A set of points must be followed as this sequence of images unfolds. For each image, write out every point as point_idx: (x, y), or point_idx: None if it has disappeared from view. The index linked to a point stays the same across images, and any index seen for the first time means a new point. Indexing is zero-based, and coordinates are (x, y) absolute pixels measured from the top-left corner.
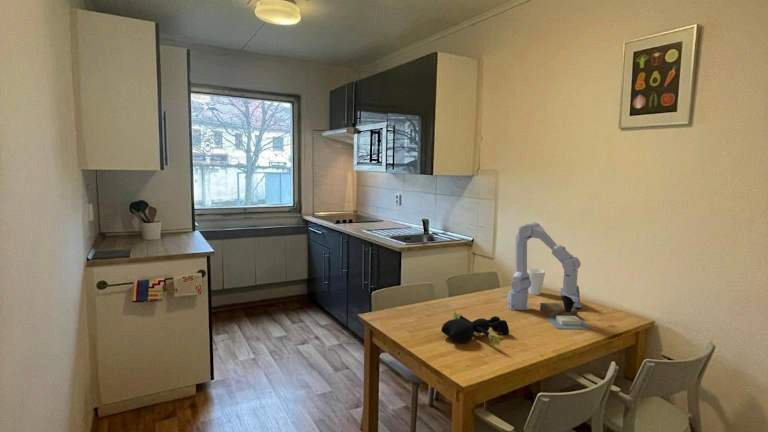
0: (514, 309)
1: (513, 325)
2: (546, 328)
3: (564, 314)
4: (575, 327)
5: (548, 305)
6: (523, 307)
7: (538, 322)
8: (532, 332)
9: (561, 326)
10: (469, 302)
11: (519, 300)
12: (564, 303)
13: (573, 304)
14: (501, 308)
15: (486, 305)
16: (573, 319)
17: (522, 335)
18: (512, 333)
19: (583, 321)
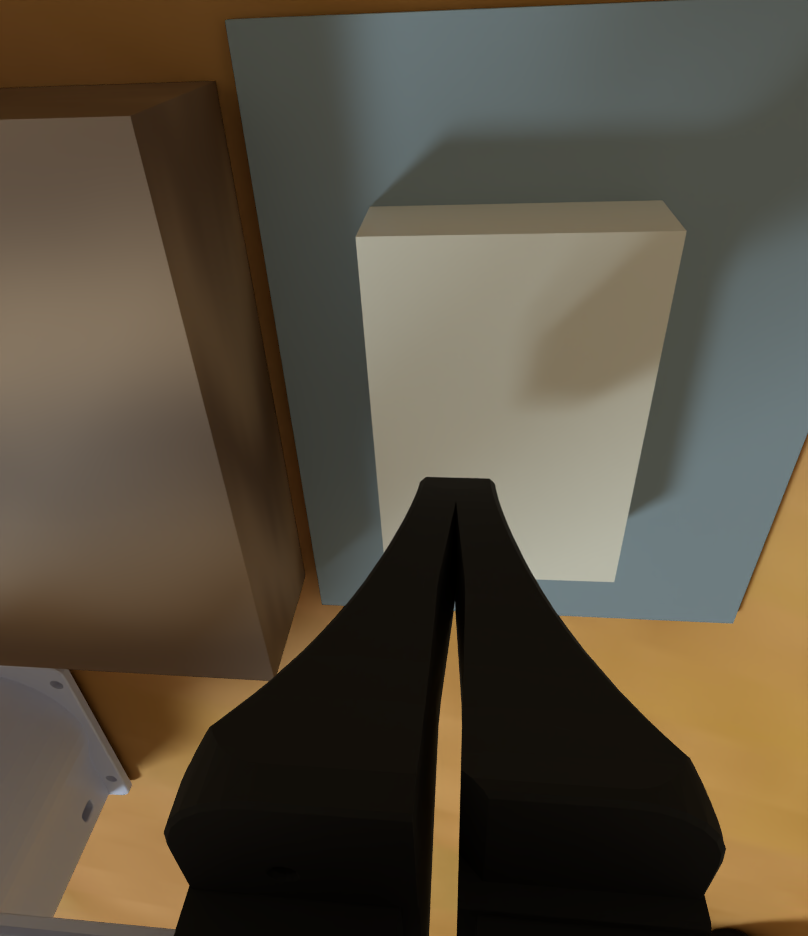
0: (123, 774)
1: None
2: (681, 703)
3: (245, 394)
4: (771, 376)
5: (25, 608)
6: (66, 734)
7: None
8: (756, 820)
9: (677, 558)
10: (55, 916)
11: (34, 852)
12: (436, 758)
13: (570, 637)
14: (113, 820)
15: (77, 869)
16: (588, 377)
17: (799, 883)
18: (734, 910)
19: (456, 18)
